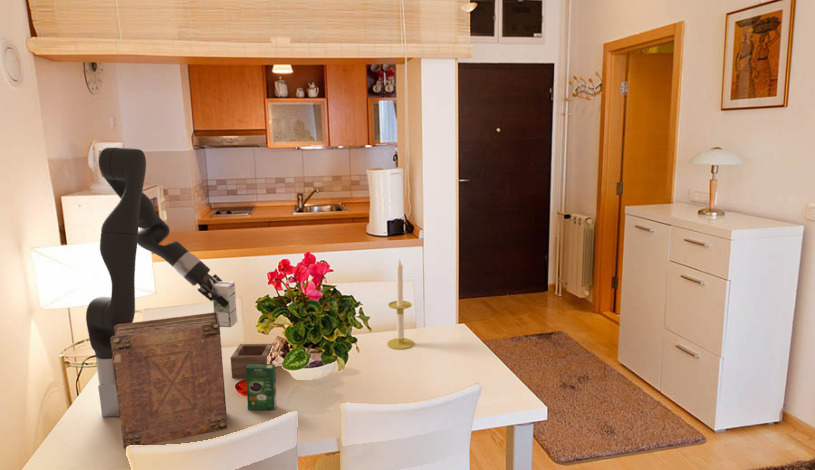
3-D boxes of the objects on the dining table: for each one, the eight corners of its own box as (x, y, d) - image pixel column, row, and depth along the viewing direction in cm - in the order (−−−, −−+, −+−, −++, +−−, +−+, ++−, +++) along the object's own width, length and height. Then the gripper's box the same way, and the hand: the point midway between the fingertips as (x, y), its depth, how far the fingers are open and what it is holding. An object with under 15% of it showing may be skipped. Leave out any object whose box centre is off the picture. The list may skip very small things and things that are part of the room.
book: (122, 449, 139) (108, 337, 133) (126, 431, 147) (113, 324, 141) (228, 428, 148) (219, 322, 142) (225, 412, 156) (217, 311, 150)
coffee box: (278, 405, 160) (275, 363, 157) (275, 410, 157) (273, 367, 154) (250, 405, 160) (247, 363, 157) (247, 410, 157) (244, 367, 154)
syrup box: (237, 321, 188) (235, 280, 186) (230, 327, 183) (228, 285, 180) (221, 321, 189) (218, 280, 186) (214, 327, 183) (211, 285, 180)
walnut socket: (266, 377, 177) (265, 357, 176) (232, 377, 177) (230, 357, 176) (273, 362, 188) (272, 343, 187) (241, 363, 188) (240, 344, 187)
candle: (402, 336, 210) (401, 254, 204) (419, 344, 203) (419, 259, 196) (381, 343, 204) (379, 258, 197) (398, 351, 196) (397, 263, 190)
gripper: (191, 265, 174) (231, 301, 177) (206, 255, 188) (243, 288, 191) (175, 282, 175) (215, 317, 178) (191, 270, 189) (228, 303, 192)
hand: (229, 302), depth 184 cm, fingers closed on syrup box, 6 cm apart
